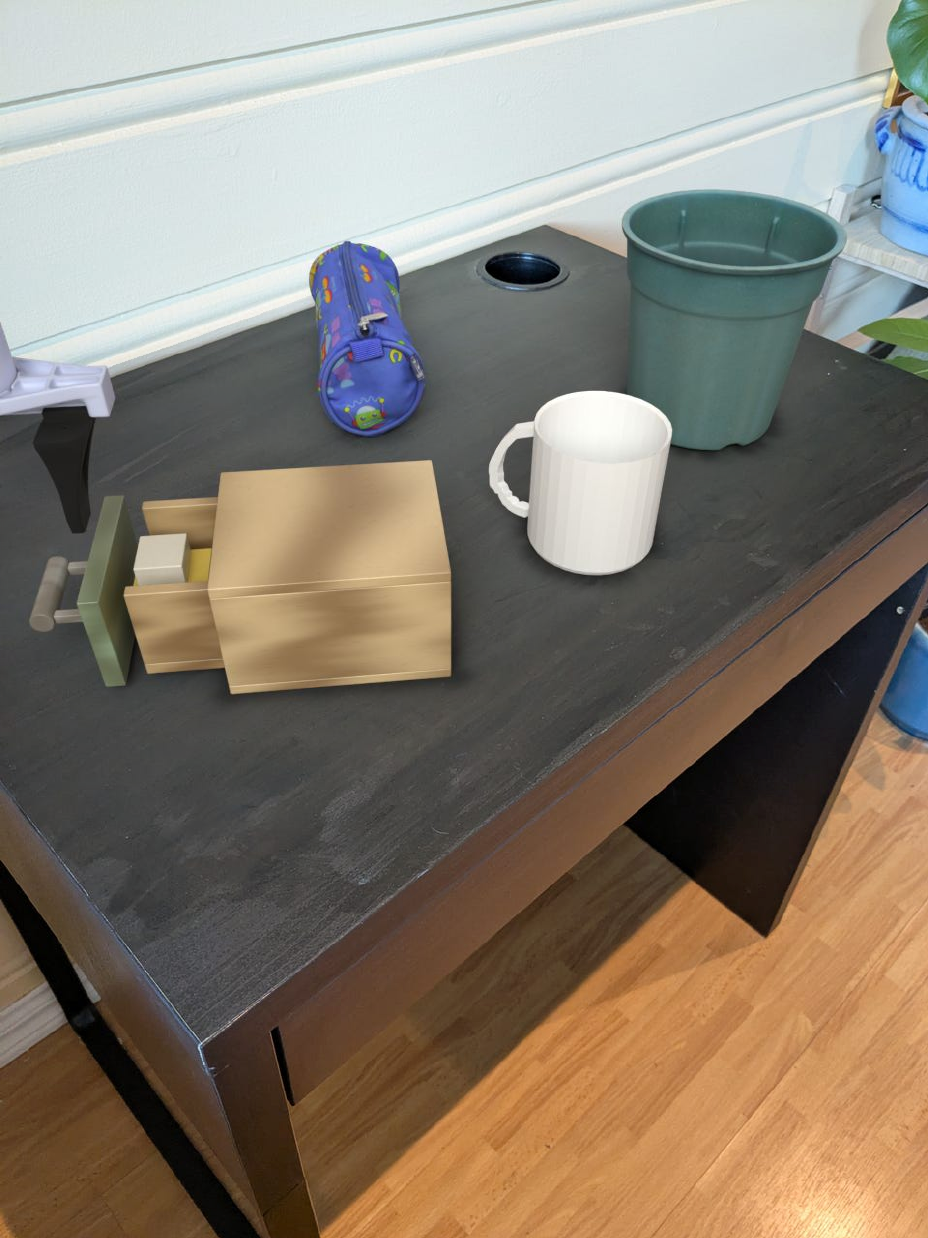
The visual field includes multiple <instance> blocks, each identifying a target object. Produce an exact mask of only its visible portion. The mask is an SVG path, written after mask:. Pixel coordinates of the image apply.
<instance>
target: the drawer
mask: <svg viewBox="0 0 928 1238" xmlns="http://www.w3.org/2000/svg"><path fill="white" fill-rule="evenodd" d="M217 501H218V496H211V497H196V498H194V497H193V498H180V499H177V498H176V499H164V500H163V499H162V500H147V501H143V502H142V506H141V511H142V514H143V518H144V522H145V525H146V529H147V533H148V536H152V535H168V534H183V533H186V534H187V537H188V541H189V545H190V550H193V549H208V548H212V545H213V536H214V527H215V519H216V510H217ZM129 512H130V511H129V509H128V504H127V502H126V498H125V496H124V495H123V494H122V495H106V496H104V499H103V502H102V506H101V510H100V513H99V518H98V521H97V525H96V527H95V532H94V535H93V540H92V543H91V547H90V552H89V555H88V559H87V560H82V561H69V560H68V559H67V558H66V557H63V556H57V555H56V556H52V557H50V558H49V559H48V560H47V562H46V565H45V568H44V572H43V575H42V577H41V581H40V584H39V588H38V591H37V594H36V597H35V601H34V604H33V607H32V610H31V613H30V617H29V620H28V623H29V626H30V628H32V629H33V630H34V631H37V632H41V633H47V632H51V631H52V630H53V629H54V628H55V626H56V624H58V625H59V624H71V623H72V624H73V623H83V626H84V629H85V632H86V635H87V637H88V640H89V643H90V646H91V649H92V651H93V654H94V657H95V660H96V663H97V665H98V666H97V667H98V668H99V672H100V674H101V677H102V680H103V682H104V686H105V687H106V688H111V687H124V686H127V681H128V677H129V672H130V671H129V670H130V666H131V661H132V654H133V649H134V645H135V639H136V641H137V644H138V647H139V651H140V655H141V657H142V660H143V664H144V667H145V671H146V674H147V675H151V674H164V673H175V672H176V673H177V672H189V671H201V670H214V669H225V666H224V661H223V657H222V652H221V648H220V644H219V639H218V635H217V631H216V626H215V622H214V617H213V613H212V609H211V604H210V600H209V595H208V591H207V588H208V581H200V582H186V583H171V584H157V585H142V586H133V585H134V580H135V573H134V570H133V569H134V564H135V559H136V554H137V550H138V545H139V543H138V540H137V537H136V533H135V531H134V526H133V524H132V519H131V515H130V513H129ZM79 575H83V578H82V582H81V585H80V589H79V593H78V595H77V600H76V607H77V608H71V609H69V608H68V609H60V607H61V604H62V600H63V597H64V594H65V590H66V586H67V583H68V579H69V576H79Z"/></svg>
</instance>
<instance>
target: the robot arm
mask: <svg viewBox="0 0 928 1238" xmlns="http://www.w3.org/2000/svg"><path fill="white" fill-rule="evenodd" d="M115 400H116V395H115V391H114V387H113V383H112V380H111V376H110V372H109V368H108V366H107V365H79V364H70V363H62V362H55V361H48V360H47V361H46V360H40V359H33V358H26V357H17V356H12V351H11V350H10V346H9V343H8V340H7V337H6V334H5V332H4V328H3V326H2V322H1V321H0V416H16V415H17V416H18V415H39V414H40V415H42V418H43V419H42V421H41V422H40V423H39V425H38V428H37V430H36V433H35V435H34V438H33V440H32V445H33V448H34V450H35V452H36V453H37V454H38V457H40V459H41V460H42V462H43V464H44V466H45V467H46V469H47V472H48V473H49V475H50V478H51V479H52V482H53V484H54V486H55V488H56V491H57V494H58V497H59V500H60V503H61V507H62V510H63V514H64V518H65V521H66V523H67V525H68V528H69V530H70V532H71V534H72V535H73V534H84V533H86V532H87V528H88V524H89V521H90V518H91V514H92V511H91V504H90V495H89V467H90V456H91V447H92V440H93V435H94V429H95V424H96V419H97V418H109V417H111V413H112V411H113V408H114V405H115Z"/></svg>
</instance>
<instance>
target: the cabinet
mask: <svg viewBox="0 0 928 1238" xmlns="http://www.w3.org/2000/svg"><path fill="white" fill-rule="evenodd" d="M219 475H220V476H219V485H218V492H217V493H218V494H217V497H218V501H217V510H216V519H215V527H214V536H213V545H212V553H211V562H210V570H209V579H208V588H207V591H208V595H209V600H210V604H211V609H212V613H213V617H214V622H215V626H216V631H217V635H218V639H219V644H220V648H221V652H222V657H223V661H224V666H225V668H224V670H225V674H226V679H227V683H228V687H229V691H230V694H231V695H239V694H252V693H263V692H276V691H287V690H288V691H289V690H299V689H301V690H303V689H310V688H311V689H313V688H314V689H315V688H324V687H337V686H338V687H339V686H350V685H363V684H375V683H376V684H377V683H386V682H387V683H388V682H398V681H399V682H400V681H411V680H424V679H425V680H426V679H437V678H438V679H439V678H450V677H451V676H452V570H451V563H450V559H449V552H448V548H447V547H448V546H447V540H446V535H445V528H444V523H443V515H442V511H441V505H440V501H439V494H438V488H437V482H436V475H435V471H434V464H433V461H432V459H427V460H426V459H425V460H412V461H396V462H377V463H376V462H375V463H362V464H360V463H359V464H344V465H343V464H342V465H341V464H340V465H328V466H327V465H325V466H310V467H309V466H308V467H294V468H293V467H291V468H277V469H275V468H273V469H258V470H241V471H223V472H220V474H219Z"/></svg>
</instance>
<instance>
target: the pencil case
mask: <svg viewBox="0 0 928 1238" xmlns="http://www.w3.org/2000/svg"><path fill="white" fill-rule="evenodd" d="M309 269H310V270H309V273H308V286H309V291H310V294H311V297H312V300H314V305H315V322H316V328H317V334H318V359H319V371H318V377H317V395H318V399H319V401H320V404H321V406H322V408H323V411H324V412H325V414H326V415H327V417H328V418H329V420H330V421H331V422H332V423H333V424H334V425H336V426H337V427H338V428H340V429H341V430H343V431H344V432H347V433H349V434H353V435H356V436H360V437H364V438H372V437H377V436H381V435H383V434H385V433H387V432H388V431H391V430H392V429H395V428H397V427H398V426H400V425H402V424H403V423H404V422H406V421H407V420H408V419H410V417H411V416H412V415H413V414H414V412H415V411H416V410H417V408H418V407H419V405H420V404H421V401H422V399H423V397H424V394H425V389H426V371H425V370H426V369H425V367H424V363H423V361H422V358H421V356H420V354H419V353H418V351H417V350H416V348H415V347H414V346H413V344H412V339H411V336H410V333H409V331H408V330H407V329H406V327H405V325H404V322H403V321H402V308H401V307H402V306H401V300H400V289H401V288H400V285H401V284H400V275H399V270H398V267H397V265H396V264H395V262H394V261H393V259H392V258H391V256H390V255H388V254H387V253H386V252H385V251H383V250H382V249H380V248H379V247H376V246H374V245H373V246H372V245H369V244H365V243H360V242H359V243H355V242H351V241H350V240H344V241H343V242H342V243H341V244H336V245H335V246H333V247H330V248H329V249H327V250H325V251H324V252H321V253H320V254H319V255H318V256H317V257H316V258H315V259H314V261H313V262H312V265H311V267H310V268H309Z"/></svg>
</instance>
